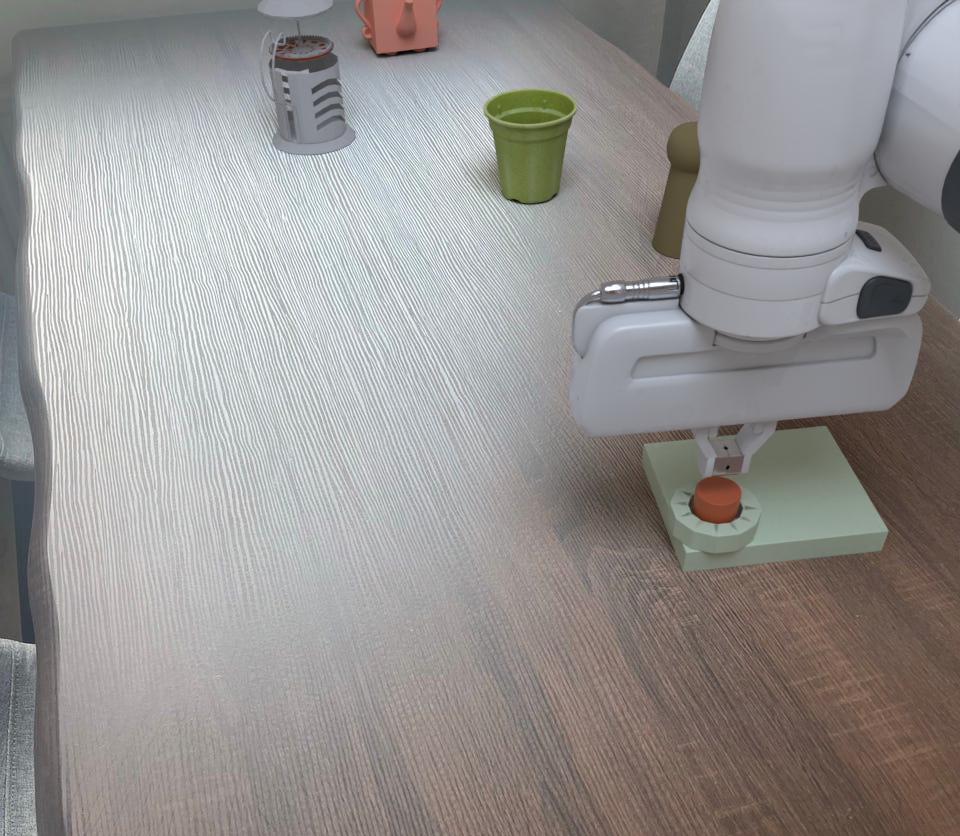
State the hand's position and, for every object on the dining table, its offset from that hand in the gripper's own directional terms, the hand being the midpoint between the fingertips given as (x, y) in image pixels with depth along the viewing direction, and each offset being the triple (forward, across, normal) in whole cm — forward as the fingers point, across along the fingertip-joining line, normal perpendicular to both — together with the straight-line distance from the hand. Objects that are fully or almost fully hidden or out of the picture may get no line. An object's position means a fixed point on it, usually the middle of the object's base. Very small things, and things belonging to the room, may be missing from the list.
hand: (721, 470), depth 66 cm
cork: (+7, +10, +43) cm, 44 cm away
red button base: (+6, +5, +4) cm, 9 cm away
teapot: (+7, -13, +104) cm, 105 cm away
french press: (+7, -26, +75) cm, 79 cm away
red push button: (+3, 0, 0) cm, 3 cm away
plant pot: (+7, -3, +56) cm, 57 cm away
